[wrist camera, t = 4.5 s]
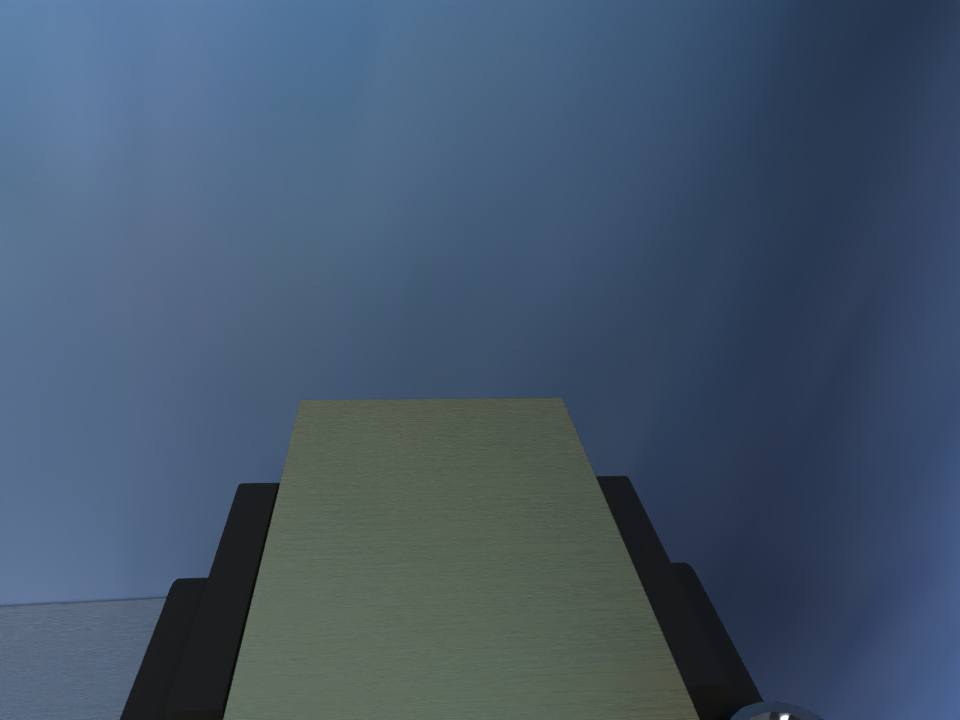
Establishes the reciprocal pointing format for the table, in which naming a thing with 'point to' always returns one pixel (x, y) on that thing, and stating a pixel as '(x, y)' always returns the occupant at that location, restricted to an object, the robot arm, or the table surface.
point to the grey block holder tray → (72, 658)
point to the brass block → (447, 575)
